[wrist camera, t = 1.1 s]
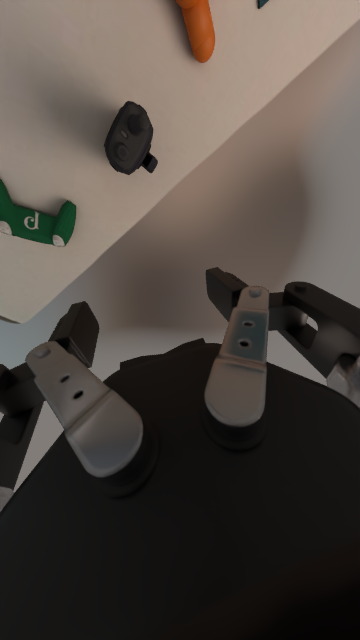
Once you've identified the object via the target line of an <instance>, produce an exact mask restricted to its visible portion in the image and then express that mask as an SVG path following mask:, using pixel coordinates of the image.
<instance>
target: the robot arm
mask: <svg viewBox="0 0 360 640" xmlns="http://www.w3.org/2000/svg"><path fill="white" fill-rule="evenodd" d="M206 284H207V294H208V297H209V299H210V300H211V301H212V303H213V304H214V305H215V306H216V308H217V309H218V310H219V311H220V313H221V314H222V315H223V316H224V318H225V319H226V320H227V321H228V322H229V324H228V327H227V330H226V333H225V336H224V339H223V343H222V344H217V343H205V341H204V339H203V338H201V339H197V340H194V341H191V342H187V343H184V344H182V345H180V346H178V347H176V348H174V349H172V350H170V351H168V352H166V353H164V354H158V355H148V356H141V357H137V358H134V359H130V360H127V361H124V362H120V370H118V371H116V372H115V373H113V374H112V375H111V376H109V377H108V378H107V379H106V380H104V381H103V382H102V381H101V380H100V379H99V378H98V377H97V376H95V375H94V374H93V373H92V372H91V371H90V370H89V369H88V368H90V367H92V362H93V358H94V353H95V348H96V343H97V338H98V333H99V324H98V321H97V320H96V318H95V316H94V314H93V312H92V311H91V309H90V307H89V305H88V304H87V303H86V302H85V301H83V302H79V303H75V304H72V305H71V307H70V309H69V311H68V313H67V314H65V315H64V316H63V317H62V318H61V319H60V321H59V322H58V324H57V326H56V328H55V330H54V331H53V333H52V335H51V337H50V339H49V340H48V342H45V343H43V344H40V345H39V346H37V347H35V348H34V349H33V350H31V351H30V352H29V353H28V355H27V356H26V359H25V361H26V362H25V363H23V364H21V365H19V366H17V367H15V368H13V369H10V370H9V369H8V368H7V367H5V366H4V365H3V364H0V412H2V413H3V414H4V416H3V418H2V420H1V422H0V640H360V309H359V308H357V307H355V306H353V305H351V304H349V303H348V302H346V301H343V300H342V299H340V298H338V297H336V296H334V295H332V294H330V293H328V292H326V291H324V290H323V289H320V288H318V287H317V286H315V285H313V284H310V283H307V282H291V283H288V284H287V285H286V286H285V289H284V292H278V293H269V290H268V289H267V288H265V287H262V286H248V285H247V284H246V283H244V282H243V281H241V280H240V279H239V278H237V277H236V276H234V275H233V274H231V273H227V272H225V273H224V272H223V271H222V270H220V269H219V268H218V267H216V268H212V269H208V270H206ZM308 316H309V317H311V318H312V319H313V320H315V321H316V323H317V325H318V331H316V330H315V329H314V328H313V327H311V326H310V325H309V324H307V323H306V322H307V319H308ZM272 330H277V331H278V332H279V333H280V334H281V335H282V336H284V338H285V339H286V340H287V341H288V342H289V343H291V345H292V346H293V347H294V348H296V350H297V351H298V352H299V353H301V354H302V355H303V356H304V357H305V358H306V359H307V360H308V361H309V362H310V363H311V364H312V365H313V366H314V367H315V368H316V369H317V370H318V371H319V372H320V373H321V374H322V375H323V376H324V377H325V378H326V379H327V380H326V382H327V386H328V387H327V386H325V385H323V384H320V383H318V382H315V381H313V380H310V379H308V378H305V377H303V376H300V375H298V374H296V373H293V372H290V371H288V370H286V369H283V368H281V367H279V366H276V365H274V364H271V363H268V362H266V357H267V341H268V331H272ZM44 401H47V402H48V404H49V406H50V407H51V409H52V410H53V412H54V414H55V415H56V417H57V418H58V420H59V422H60V423H61V425H62V426H63V428H64V431H63V432H62V434H61V435H60V436H59V437H58V439H57V440H56V441H55V442H54V444H53V445H52V446H51V447H50V449H49V450H48V451H47V452H46V454H45V455H44V456H43V458H42V459H41V460H40V461H39V463H38V464H37V465H36V466H35V468H34V469H33V470H32V471H31V473H30V474H29V475H28V477H27V478H26V479H25V480H24V482H23V483H22V484H21V485H20V487H19V488H18V489H17V490H16V492H15V493H14V492H13V490H14V487H15V484H16V481H17V478H18V475H19V473H20V470H21V467H22V464H23V461H24V458H25V455H26V452H27V449H28V446H29V443H30V441H31V438H32V435H33V432H34V428H35V426H36V423H37V420H38V417H39V414H40V412H41V408H42V405H43V402H44Z"/></svg>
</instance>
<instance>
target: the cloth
mask: <svg viewBox="0 0 360 640" xmlns="http://www.w3.org/2000/svg"><path fill="white" fill-rule="evenodd" d="M267 1H269V0H258V8H259V9H260V8H261V7H262V6H263V5H264V4H265V3H266V2H267Z"/></svg>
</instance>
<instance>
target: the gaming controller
mask: <svg viewBox="0 0 360 640" xmlns="http://www.w3.org/2000/svg"><path fill="white" fill-rule="evenodd" d="M75 218H76V205H74V204H73V203H71V202H70V201H68V200H67V201H66V202H65V203H64V204H63V205H62V207H61V209H60V211H59V213H58V215H57V216H56V217H53V216H51V215H48V214H45V213H41V212H38V211H35V210H31V209H28V208H24V207H21V206H17V205H15V204H14V203H13V202H12V200H11V198H10V196H9V194H8V191H7V189H6V187H5V185H4V183H3V182H2V180H1V179H0V231H1V232H3V233H5V234H8V235H13V236H18V237H20V238H24V239H28V240H32V241H36V242H40V243H45V244H53V245H54V246H58V247H64V246H65V245H66V244H67V243H68V241H69V240H70V238H71V235H72V233H73V229H74V225H75Z"/></svg>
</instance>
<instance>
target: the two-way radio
mask: <svg viewBox="0 0 360 640" xmlns="http://www.w3.org/2000/svg"><path fill="white" fill-rule="evenodd" d="M152 136H153V127H152V125H151V122H150V120H149V117H148V115H147V112H146V111H145V109H144V108H143V107H142V106H140V105H137V104H136V103H134V102H131V101H127V102H126V103H125V105H124V106H123V107H121V109H120V110H119V112H118V114H117V116H116V117H115V119H114V121H113V123H112V125H111V128H110V130H109V132H108V135H107V137H106V140H105V144H104V147H105V152H106V156H107V158H108V160H109V163H110V165H111V166H112V167H113V168H114V169H115V170H116V171H117V172H118V171H119V172H121V173H125V174H127V175H130V174H131V173H133V172H134V171H135V170H136V169H139V168H140V166H142V167H144V168H145V169H146V170H147V171H148V172H149V173H152V172H153V171H154V169H155V168H156V166H157V164H158V161H157V159H156V158H155V157H154V156H153V155H151V154H150V153H149V151H150V148H151V141H152Z"/></svg>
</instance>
